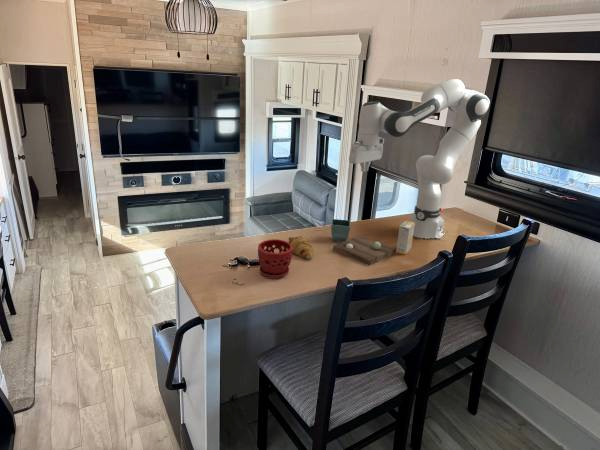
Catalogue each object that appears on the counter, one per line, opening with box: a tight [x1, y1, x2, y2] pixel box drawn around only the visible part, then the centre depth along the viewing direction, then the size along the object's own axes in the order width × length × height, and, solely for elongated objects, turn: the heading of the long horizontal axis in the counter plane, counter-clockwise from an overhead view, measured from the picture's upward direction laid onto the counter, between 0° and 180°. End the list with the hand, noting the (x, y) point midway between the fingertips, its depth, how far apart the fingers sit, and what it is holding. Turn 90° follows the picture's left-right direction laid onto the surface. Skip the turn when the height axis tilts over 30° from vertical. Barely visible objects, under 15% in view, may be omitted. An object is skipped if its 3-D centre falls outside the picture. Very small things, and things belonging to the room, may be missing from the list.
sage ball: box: [373, 241, 382, 249], centre depth 182 cm, size 3×3×3 cm
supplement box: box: [395, 220, 415, 256], centre depth 186 cm, size 8×5×13 cm, turn 149°
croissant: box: [287, 235, 314, 260], centre depth 182 cm, size 21×10×8 cm, turn 27°
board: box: [332, 235, 395, 267], centre depth 184 cm, size 18×20×2 cm
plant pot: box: [257, 238, 293, 279], centre depth 159 cm, size 13×13×12 cm
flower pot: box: [330, 218, 351, 243], centre depth 196 cm, size 9×9×9 cm
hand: (364, 171), depth 185 cm, fingers closed
